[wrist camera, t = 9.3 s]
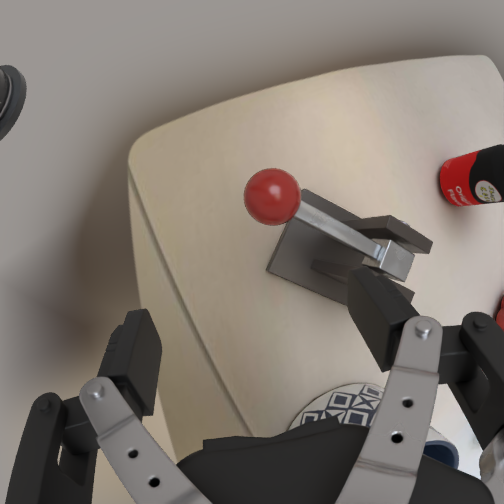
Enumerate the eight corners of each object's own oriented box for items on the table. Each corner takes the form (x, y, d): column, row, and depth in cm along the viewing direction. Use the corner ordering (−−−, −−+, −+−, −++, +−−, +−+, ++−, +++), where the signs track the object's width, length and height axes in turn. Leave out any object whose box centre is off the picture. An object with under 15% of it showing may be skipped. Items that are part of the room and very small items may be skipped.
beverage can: (431, 160, 34) (497, 139, 23) (461, 159, 35) (524, 142, 23) (440, 209, 35) (510, 202, 23) (470, 204, 36) (535, 197, 24)
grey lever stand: (265, 270, 32) (302, 289, 19) (301, 189, 32) (355, 162, 20) (361, 312, 34) (431, 344, 21) (391, 238, 34) (469, 239, 21)
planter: (288, 489, 34) (317, 565, 19) (275, 400, 33) (313, 482, 19) (391, 455, 36) (443, 511, 21) (397, 365, 35) (472, 413, 21)
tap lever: (229, 211, 21) (240, 208, 17) (252, 164, 21) (266, 152, 18) (378, 284, 24) (406, 293, 21) (394, 244, 24) (423, 247, 21)
